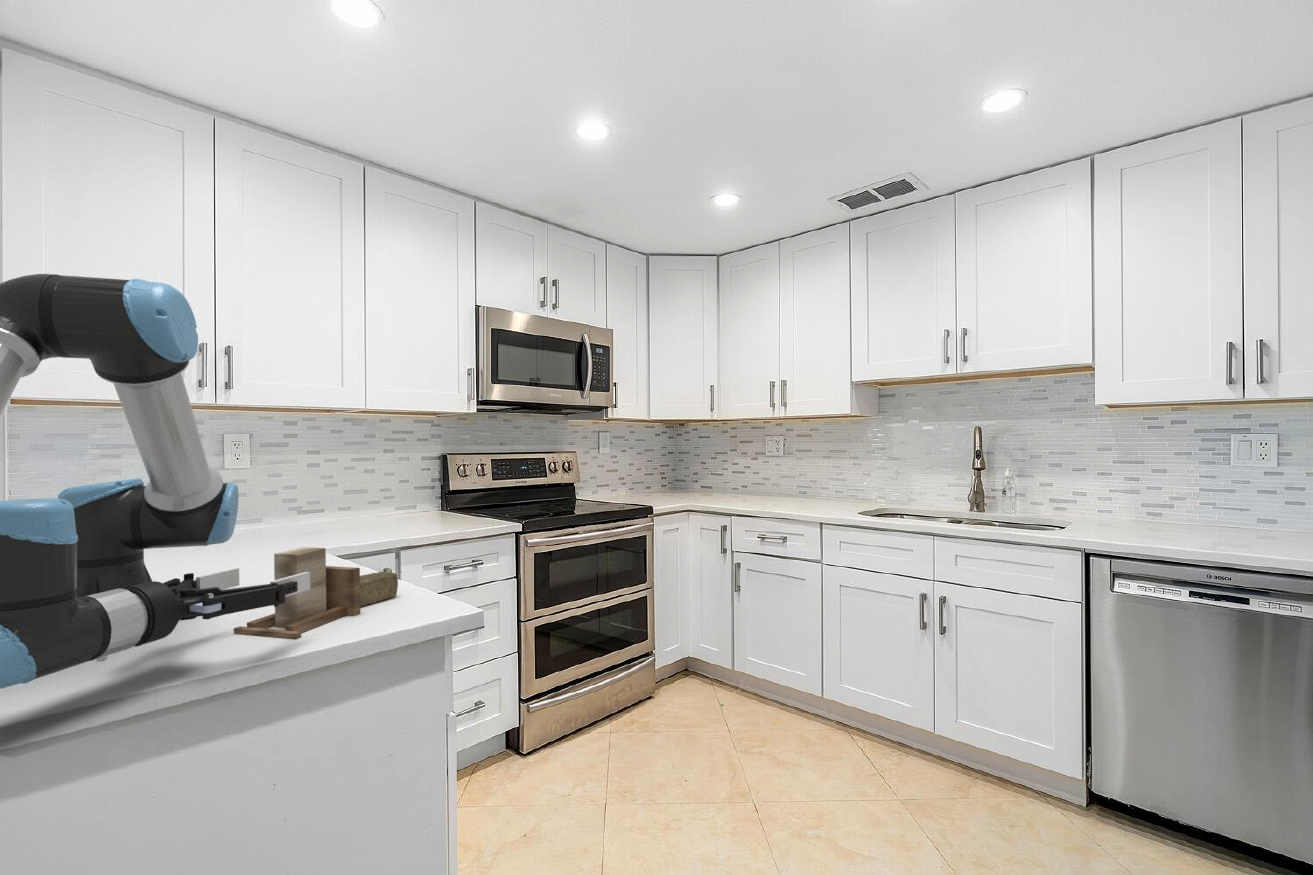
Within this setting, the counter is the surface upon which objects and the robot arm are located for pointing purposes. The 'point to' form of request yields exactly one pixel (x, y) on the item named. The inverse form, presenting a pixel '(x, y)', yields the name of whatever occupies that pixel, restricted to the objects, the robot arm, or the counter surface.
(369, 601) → the stone block
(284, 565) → the light wooden block
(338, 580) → the wooden book stand
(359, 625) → the counter surface
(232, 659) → the counter surface
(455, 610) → the counter surface
